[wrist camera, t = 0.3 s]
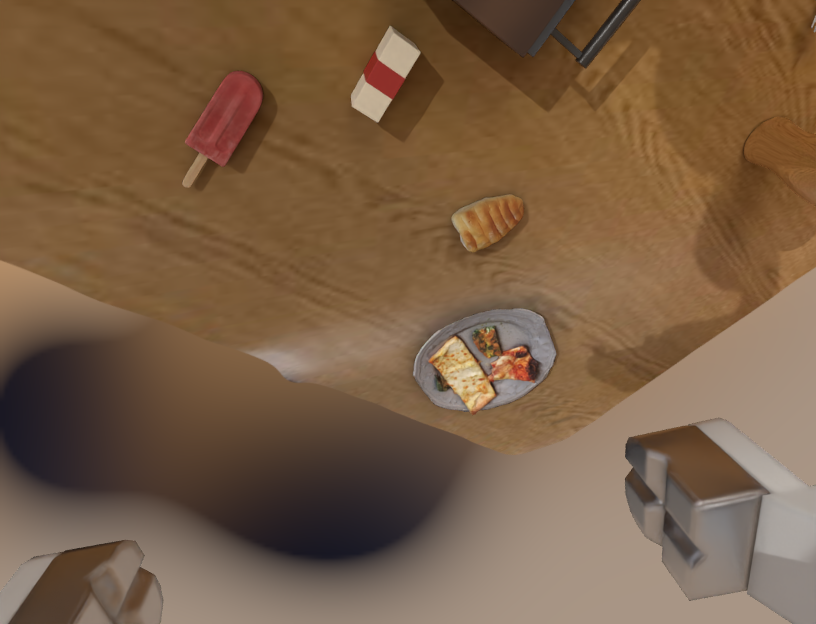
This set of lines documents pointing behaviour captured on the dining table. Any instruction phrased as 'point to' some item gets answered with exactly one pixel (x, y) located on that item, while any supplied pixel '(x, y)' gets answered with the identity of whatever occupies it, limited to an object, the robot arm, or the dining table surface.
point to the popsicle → (224, 121)
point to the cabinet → (513, 19)
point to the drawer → (599, 38)
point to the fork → (813, 24)
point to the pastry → (487, 220)
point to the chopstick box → (384, 74)
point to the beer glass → (785, 155)
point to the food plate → (485, 360)
